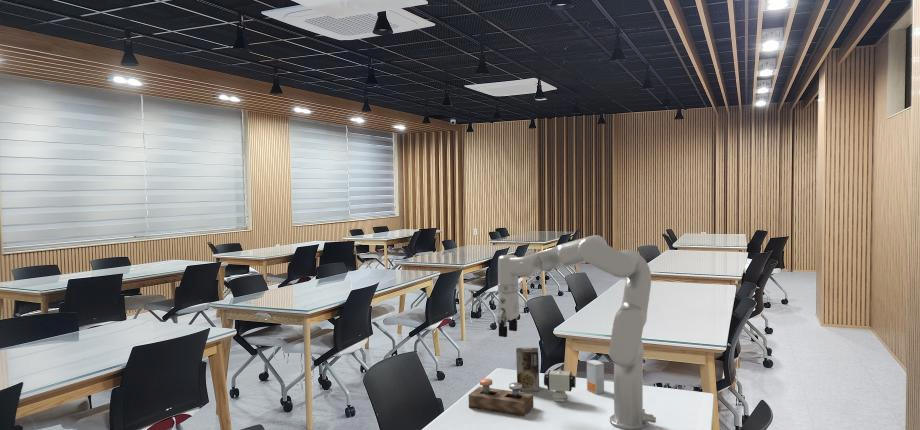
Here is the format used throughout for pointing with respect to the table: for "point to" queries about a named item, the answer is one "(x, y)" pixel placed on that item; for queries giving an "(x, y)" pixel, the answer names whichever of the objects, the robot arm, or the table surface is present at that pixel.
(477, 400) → the plug box
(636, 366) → the robot arm
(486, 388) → the terracotta plug
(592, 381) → the skincare box
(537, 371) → the coffee box
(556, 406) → the table surface
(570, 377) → the pneumatic valve
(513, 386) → the steel plug
